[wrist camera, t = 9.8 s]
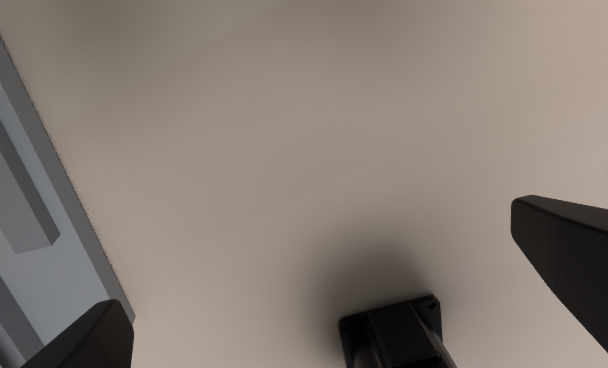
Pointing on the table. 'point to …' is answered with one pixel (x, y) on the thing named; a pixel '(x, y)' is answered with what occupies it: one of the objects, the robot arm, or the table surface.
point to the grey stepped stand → (41, 235)
